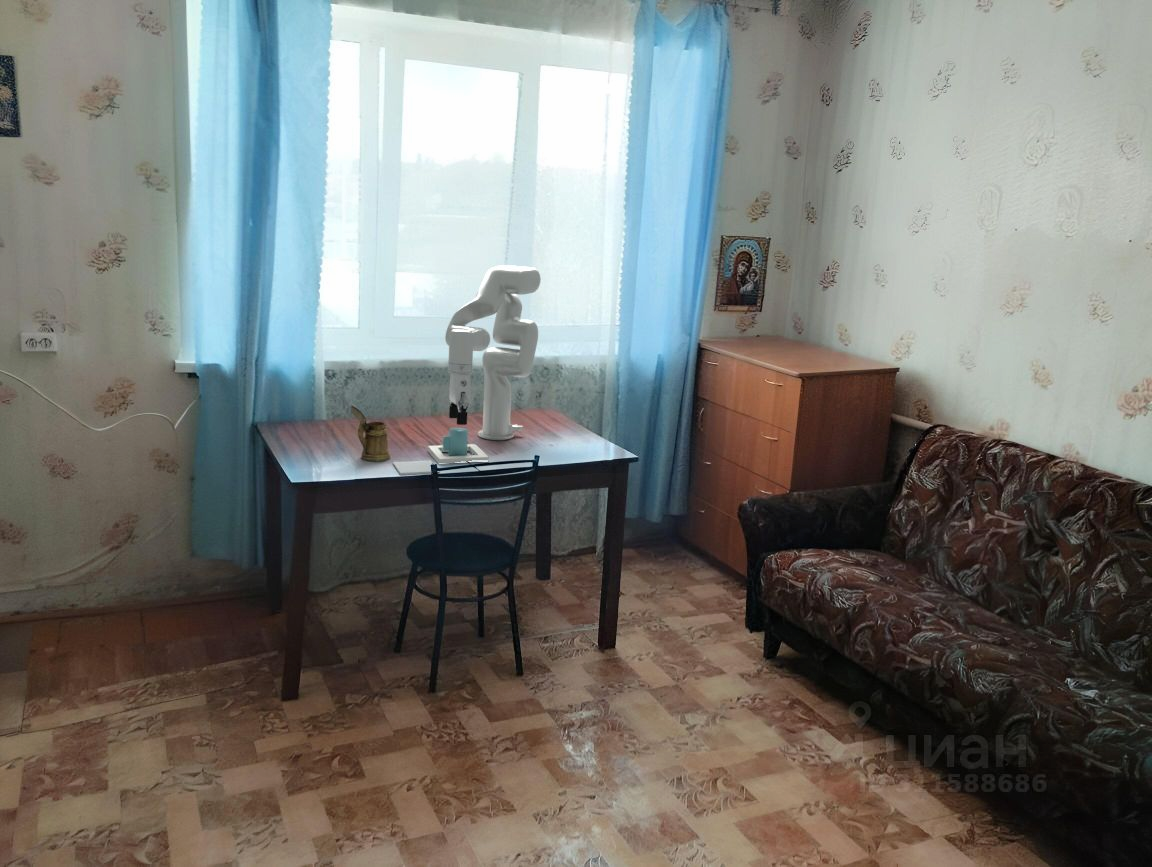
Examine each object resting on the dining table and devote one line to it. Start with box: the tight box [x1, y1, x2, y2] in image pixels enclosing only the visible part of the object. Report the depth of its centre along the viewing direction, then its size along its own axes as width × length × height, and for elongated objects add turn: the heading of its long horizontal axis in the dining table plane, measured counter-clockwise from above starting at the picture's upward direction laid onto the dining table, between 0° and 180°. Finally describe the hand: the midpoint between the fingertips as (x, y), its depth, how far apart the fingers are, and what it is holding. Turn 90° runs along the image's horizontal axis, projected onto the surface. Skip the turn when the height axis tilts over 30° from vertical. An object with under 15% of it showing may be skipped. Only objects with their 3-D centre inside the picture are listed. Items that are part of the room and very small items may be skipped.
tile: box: [392, 459, 434, 476], centre depth 303 cm, size 12×12×1 cm
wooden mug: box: [350, 405, 391, 462], centre depth 309 cm, size 9×14×18 cm, turn 134°
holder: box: [427, 443, 489, 464], centre depth 319 cm, size 16×16×2 cm
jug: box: [441, 427, 469, 457], centre depth 318 cm, size 8×6×9 cm
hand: (457, 421), depth 315 cm, fingers open, 9 cm apart
